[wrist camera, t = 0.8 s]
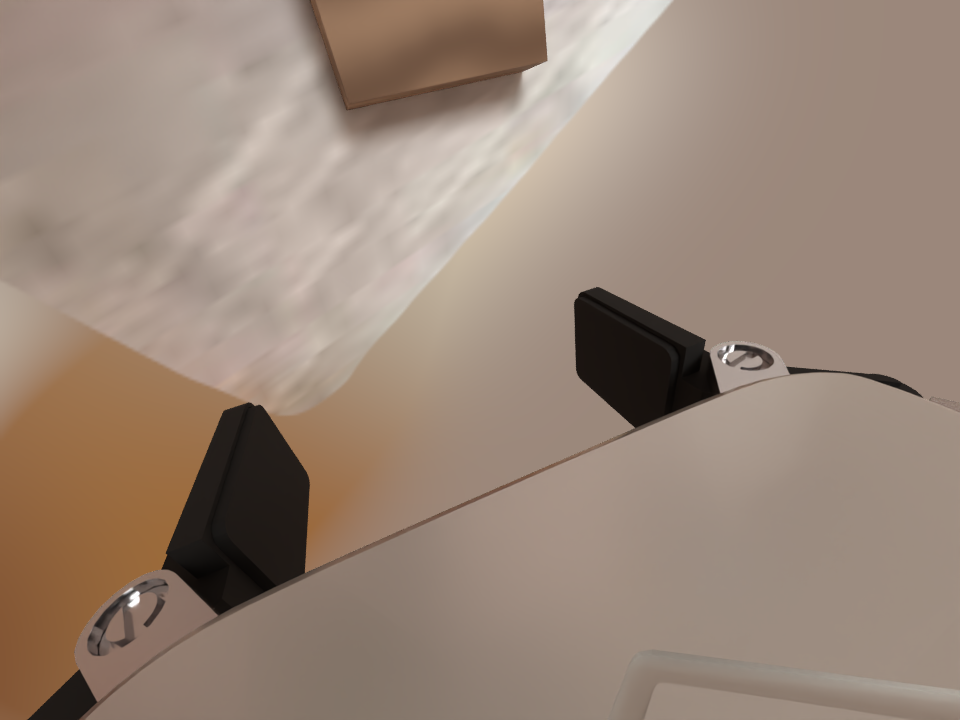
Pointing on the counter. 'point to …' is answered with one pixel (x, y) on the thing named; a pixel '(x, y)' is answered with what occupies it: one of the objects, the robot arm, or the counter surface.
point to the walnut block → (426, 44)
